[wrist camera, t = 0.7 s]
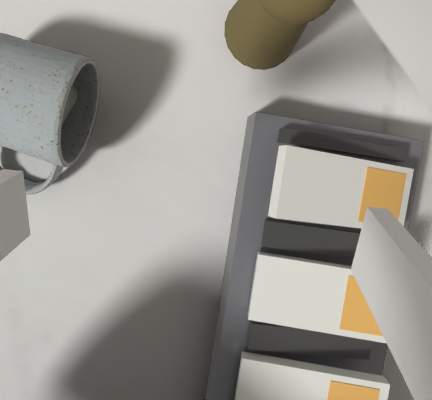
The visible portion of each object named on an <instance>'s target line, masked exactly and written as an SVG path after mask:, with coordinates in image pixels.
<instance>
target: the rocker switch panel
mask: <svg viewBox="0 0 432 400" xmlns="http://www.w3.org/2000/svg"><path fill="white" fill-rule="evenodd" d="M423 144H424V141H421V140H416V139H410V138H404V137H398V136H393V135H387V134H381V133H375V132H370V131H364V130H358V129H352V128H347V127H341V126H335V125H329V124H324V123H318V122H312V121H306V120H301V119H295V118H289V117H283V116H278V115H272V114H266V113H260V112H255V113H253V114H252V115H250V116H249V117H248V119H247V126H246V132H245V139H244V146H243V152H242V159H241V165H240V172H239V178H238V185H237V192H236V198H235V205H234V211H233V218H232V225H231V231H230V238H229V244H228V251H227V257H226V264H225V271H224V277H223V284H222V290H221V297H220V304H219V310H218V317H217V323H216V330H215V336H214V343H213V350H212V356H211V363H210V369H209V376H208V383H207V389H206V396H205V400H234V399H235V392H236V386H237V380H238V373H239V367H240V361H241V354H242V351H244V352H250V353H255V354H261V355H267V356H272V357H278V358H284V359H290V360H295V361H301V362H307V363H312V364H318V365H324V366H329V367H335V368H341V369H346V370H352V371H358V372H364V373H369V374H375V375H382V370H383V364H384V359H385V353H386V348H387V343H381V342H375V341H370V340H364V339H358V338H352V337H346V336H340V335H334V334H328V333H323V332H317V331H311V330H305V329H299V328H293V327H287V326H282V325H276V324H270V323H264V322H258V321H252V320H248V310H249V303H250V297H251V290H252V284H253V278H254V271H255V265H256V259H257V252H258V251H259V252H265V253H272V254H278V255H284V256H290V257H297V258H303V259H309V260H315V261H322V262H328V263H334V264H341V265H347V266H352V263H353V259H354V256H355V252H356V248H357V244H358V240H359V236H360V232H361V228H353V227H344V226H336V225H327V224H319V223H310V222H302V221H293V220H284V219H276V218H273V217H270V216H268V212H269V206H270V199H271V193H272V187H273V180H274V174H275V168H276V161H277V155H278V149H279V146H282V145H289V146H294V147H300V148H305V149H310V150H315V151H321V152H326V153H331V154H337V155H342V156H347V157H353V158H358V159H363V160H369V161H374V162H379V163H384V164H390V165H395V166H400V167H406V168H411V169H414V171H413V177H412V182H411V188H410V194H409V199H408V205H407V210H406V216H405V221H404V228H405V229H406V230H407V231H408V227H409V221H410V216H411V210H412V205H413V199H414V194H415V188H416V183H417V177H418V172H419V166H420V161H421V155H422V150H423Z"/></svg>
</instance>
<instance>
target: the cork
mask: <svg viewBox="0 0 432 400" xmlns="http://www.w3.org/2000/svg"><path fill="white" fill-rule="evenodd" d="M334 1H335V0H238V1H237V2H236V4H235V5H234V6H233V8H232V9H231V10H230V11H229V14H228V16H227V19H226V22H225V38H226V42H227V46H228V48H229V50H230V51H231V53H232V54H233V56H234V57H235V58H236V59H237V60H238V61H240V62H241V63H242V64H243V65H246V66H248V67H250V68H253V69H263V70H265V69H269V68H273V67H276V66H277V65H279V64H280V63H282V62H283V61H285V59H286V58H287V57H288V55H289V54H290V53H291V52H292V50H293V48H294V46H295V44H296V43H297V41H298V39H299V37H300V35H301V34H302V32H303V30H304V28H305V27H306V25H307V23H308V22H309V21H312V20H314V19H316V18H318V17H319V16H321V15H322V14H324V13H325V12H326V11H327V10H328V9H329V8H330V7H331V5H332V4H333V3H334Z"/></svg>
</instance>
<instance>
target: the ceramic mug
mask: <svg viewBox="0 0 432 400" xmlns="http://www.w3.org/2000/svg"><path fill="white" fill-rule="evenodd" d="M99 94H100V78H99V71H98V68H97V66H96V63H95V62H94V61H93V60H92V59H90V58H89V57H86V56H82V55H78V54H74V53H71V52H67V51H64V50H60V49H57V48H54V47H50V46H46V45H43V44H39V43H35V42H31V41H27V40H24V39H21V38H17V37H14V36H11V35H8V34H4V33H0V146H3V147H6V148H9V149H12V150H15V151H18V152H21V153H23V154H26V155H29V156H32V157H35V158H38V159H41V160H44V161H47V162H50V163H52V164H54V168H53V171H52V172H51V174H50V176H49V177H48V179H47V180H46V181H45V182H41V183H40V182H32V181H29V180H26V179H24V184H25V193H26V194H35V193H39V192H41V191H43V190H44V189H46V188H47V187H49V186H50V185H51V184H52V183H53V182H54V181H55V180H56V179H57V178H58V176H59V175H60V173H61V172H62V169H63V167H68V166H70V165H72V164H73V163H75V162H76V161H77V159H78V158H79V156H80V155H81V153H82V152H83V150H84V148H85V146H86V144H87V142H88V140H89V136H90V133H91V130H92V128H93V125H94V122H95V117H96V113H97V109H98V103H99ZM2 169H3V168H2V167H1V166H0V170H2Z"/></svg>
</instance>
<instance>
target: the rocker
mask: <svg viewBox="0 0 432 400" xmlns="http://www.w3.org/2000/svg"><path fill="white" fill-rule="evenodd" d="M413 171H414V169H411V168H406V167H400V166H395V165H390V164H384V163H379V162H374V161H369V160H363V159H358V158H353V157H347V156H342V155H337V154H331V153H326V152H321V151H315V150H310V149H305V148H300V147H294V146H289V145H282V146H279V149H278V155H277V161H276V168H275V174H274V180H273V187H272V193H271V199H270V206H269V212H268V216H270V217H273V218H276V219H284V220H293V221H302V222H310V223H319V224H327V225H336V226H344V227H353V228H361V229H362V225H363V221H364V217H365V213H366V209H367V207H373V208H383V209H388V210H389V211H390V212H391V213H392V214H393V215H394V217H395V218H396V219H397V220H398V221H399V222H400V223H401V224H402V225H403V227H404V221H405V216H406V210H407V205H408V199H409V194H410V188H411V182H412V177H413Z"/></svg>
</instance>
